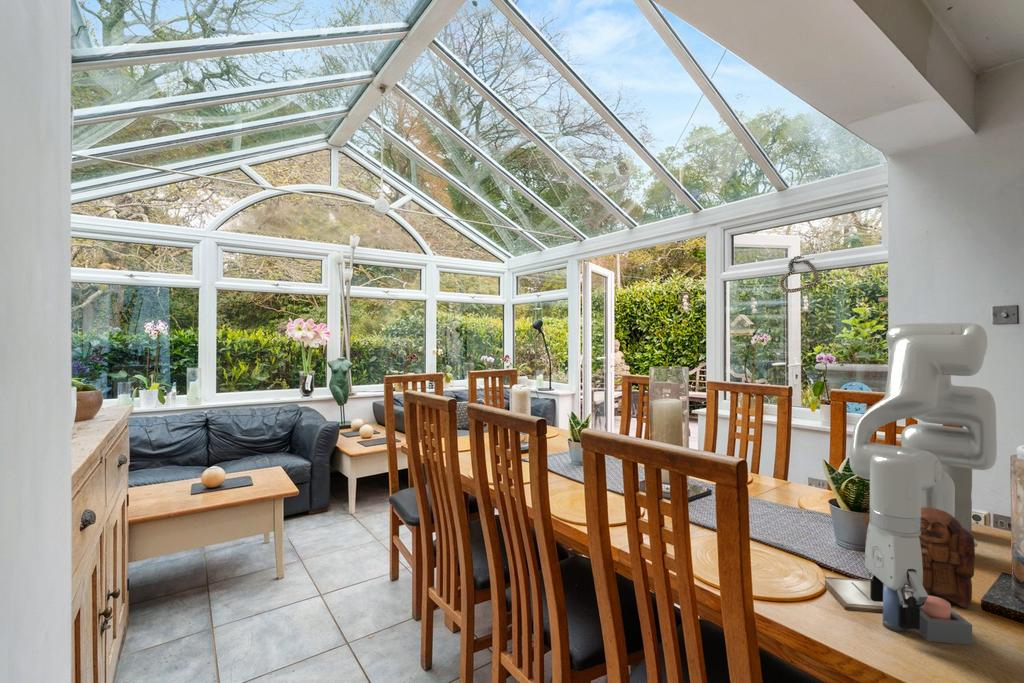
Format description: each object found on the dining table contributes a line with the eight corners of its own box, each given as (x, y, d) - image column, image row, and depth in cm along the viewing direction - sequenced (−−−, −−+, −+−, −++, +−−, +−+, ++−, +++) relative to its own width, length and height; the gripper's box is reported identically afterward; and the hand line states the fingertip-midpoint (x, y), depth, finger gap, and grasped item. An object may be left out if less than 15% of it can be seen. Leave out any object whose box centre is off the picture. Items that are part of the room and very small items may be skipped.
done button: (940, 614, 91) (940, 596, 91) (956, 627, 87) (956, 608, 87) (916, 612, 92) (916, 594, 92) (931, 625, 88) (931, 606, 88)
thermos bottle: (958, 526, 137) (959, 427, 137) (979, 538, 129) (980, 433, 129) (925, 524, 139) (926, 426, 138) (944, 535, 131) (945, 432, 130)
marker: (897, 623, 92) (898, 581, 92) (908, 633, 89) (909, 590, 89) (879, 621, 93) (879, 579, 93) (889, 631, 90) (889, 588, 89)
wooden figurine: (897, 590, 104) (897, 506, 103) (901, 579, 108) (902, 499, 108) (973, 613, 95) (974, 522, 95) (975, 600, 100) (976, 513, 99)
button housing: (944, 621, 93) (944, 603, 92) (972, 644, 86) (972, 625, 86) (902, 617, 94) (902, 600, 94) (927, 640, 87) (927, 621, 87)
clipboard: (897, 584, 106) (897, 579, 106) (935, 616, 94) (935, 610, 94) (817, 579, 109) (817, 573, 109) (844, 609, 97) (844, 603, 97)
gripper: (848, 503, 100) (847, 588, 100) (901, 539, 83) (900, 641, 83) (889, 505, 98) (888, 591, 99) (951, 542, 81) (950, 645, 82)
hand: (893, 613), depth 91 cm, fingers open, 8 cm apart
